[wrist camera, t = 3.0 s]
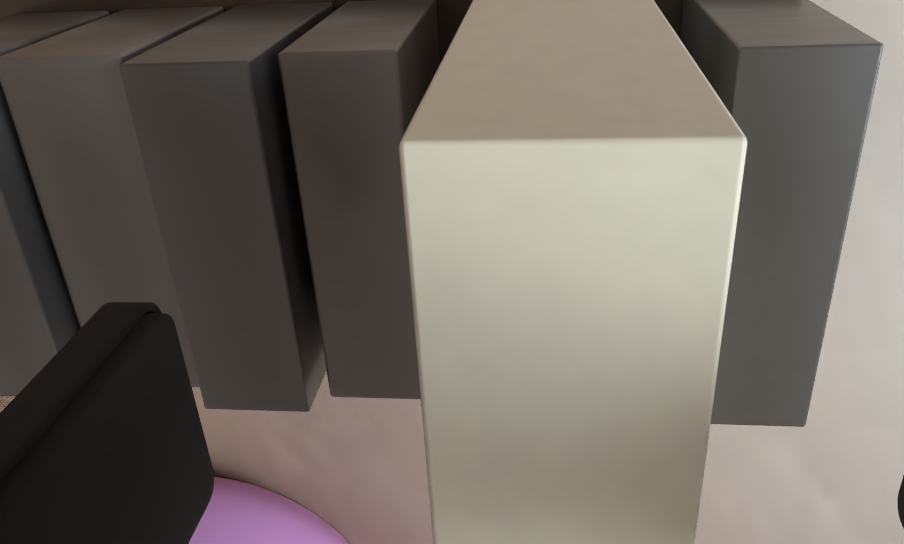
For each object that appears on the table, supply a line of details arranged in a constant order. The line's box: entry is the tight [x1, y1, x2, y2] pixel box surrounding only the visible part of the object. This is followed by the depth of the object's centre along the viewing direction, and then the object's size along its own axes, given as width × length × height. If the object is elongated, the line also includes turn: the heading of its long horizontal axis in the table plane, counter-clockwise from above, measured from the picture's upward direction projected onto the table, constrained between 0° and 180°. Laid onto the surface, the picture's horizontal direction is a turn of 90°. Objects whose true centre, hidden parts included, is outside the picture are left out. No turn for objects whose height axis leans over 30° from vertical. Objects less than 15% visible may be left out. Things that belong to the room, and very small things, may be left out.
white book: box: [399, 0, 748, 544], centre depth 13 cm, size 3×8×11 cm, turn 3°
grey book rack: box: [0, 0, 883, 427], centre depth 17 cm, size 18×8×6 cm, turn 93°
